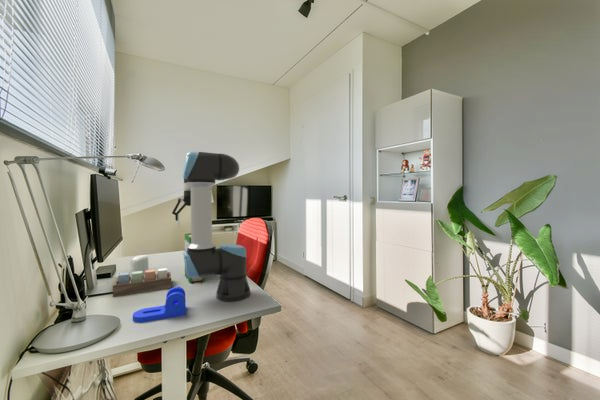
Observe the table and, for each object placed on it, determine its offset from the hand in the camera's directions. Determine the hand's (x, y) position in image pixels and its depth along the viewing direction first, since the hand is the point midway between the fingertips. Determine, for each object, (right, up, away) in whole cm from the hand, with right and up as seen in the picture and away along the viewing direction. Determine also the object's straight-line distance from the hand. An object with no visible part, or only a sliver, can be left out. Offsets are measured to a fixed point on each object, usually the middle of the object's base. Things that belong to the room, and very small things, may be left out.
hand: (190, 225), depth 160 cm
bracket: (+12, -29, -57) cm, 65 cm away
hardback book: (+7, -28, -11) cm, 31 cm away
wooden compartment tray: (-12, -28, -28) cm, 41 cm away
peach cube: (-9, -24, -26) cm, 37 cm away
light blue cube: (-19, -24, -31) cm, 44 cm away
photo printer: (-24, -28, -10) cm, 39 cm away
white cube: (-5, -24, -24) cm, 34 cm away
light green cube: (-14, -24, -29) cm, 40 cm away
